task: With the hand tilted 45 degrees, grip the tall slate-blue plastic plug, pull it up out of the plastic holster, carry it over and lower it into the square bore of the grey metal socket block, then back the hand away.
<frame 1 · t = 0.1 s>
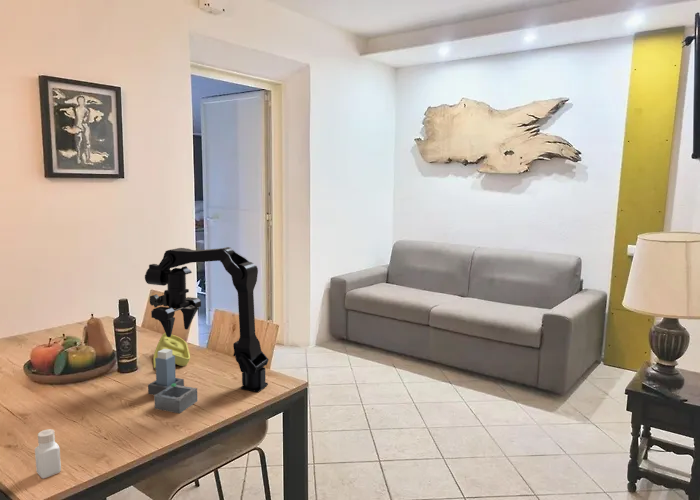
hand: (177, 333, 165), 15 cm above the table, tool pointing down, fingers open, 9 cm apart
holster: (166, 391, 155), on the table
plug: (165, 371, 154), in the holster
plastic component: (172, 360, 182), on the table
socket block: (176, 404, 145), on the table
white pill bottle: (48, 473, 111), on the table
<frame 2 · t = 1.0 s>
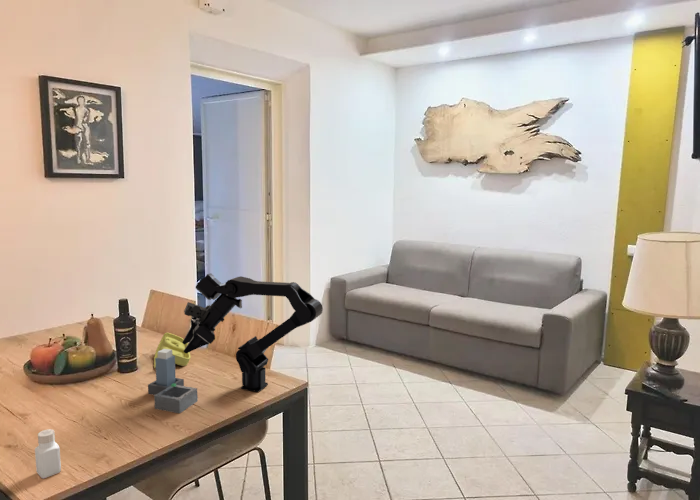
hand: (184, 347, 155), 13 cm above the table, tool tilted 45°, fingers open, 9 cm apart
nothing on the table moved.
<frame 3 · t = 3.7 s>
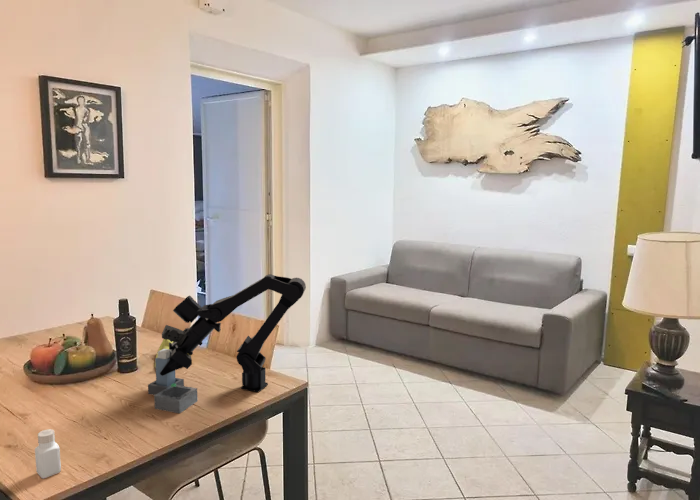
hand: (160, 371, 153), 7 cm above the table, tool tilted 45°, fingers closed on plug, 6 cm apart
plug: (165, 371, 154), in the holster, touching gripper
when the fingers open (8 cm above the table, at t = 8.2 s): plug drops 1 cm, resting in socket block.
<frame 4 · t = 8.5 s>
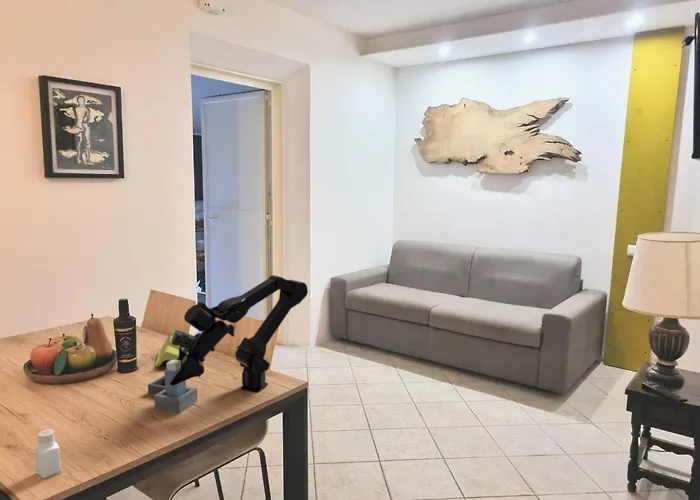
hand: (170, 379, 144), 8 cm above the table, tool tilted 45°, fingers open, 8 cm apart
plug: (175, 383, 145), in the socket block
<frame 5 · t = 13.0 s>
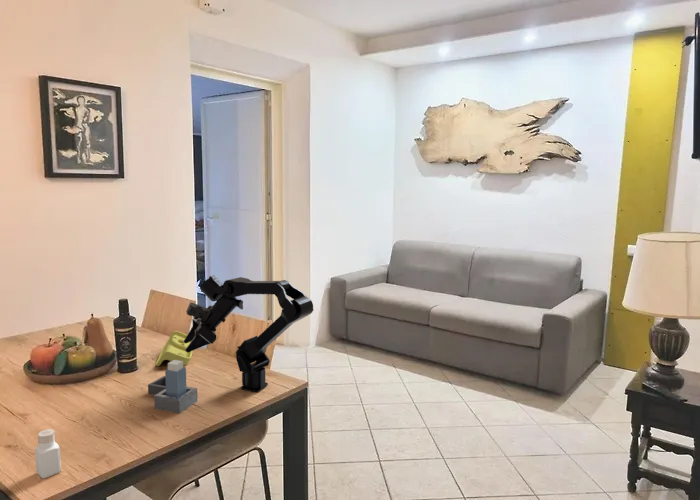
hand: (185, 347, 158), 13 cm above the table, tool tilted 45°, fingers open, 9 cm apart
at the end: plug 0.1 cm from the socket block (horizontally); plug resting in socket block; plug tilted 0° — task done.
